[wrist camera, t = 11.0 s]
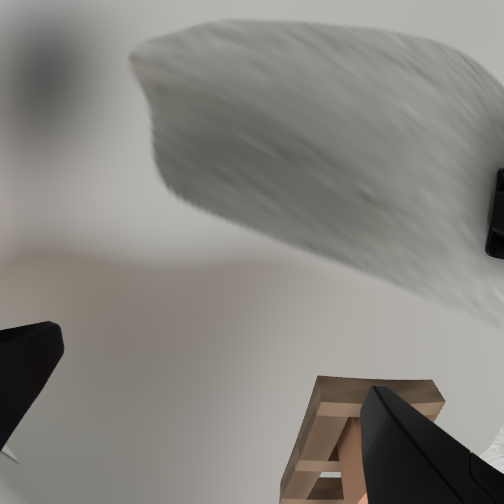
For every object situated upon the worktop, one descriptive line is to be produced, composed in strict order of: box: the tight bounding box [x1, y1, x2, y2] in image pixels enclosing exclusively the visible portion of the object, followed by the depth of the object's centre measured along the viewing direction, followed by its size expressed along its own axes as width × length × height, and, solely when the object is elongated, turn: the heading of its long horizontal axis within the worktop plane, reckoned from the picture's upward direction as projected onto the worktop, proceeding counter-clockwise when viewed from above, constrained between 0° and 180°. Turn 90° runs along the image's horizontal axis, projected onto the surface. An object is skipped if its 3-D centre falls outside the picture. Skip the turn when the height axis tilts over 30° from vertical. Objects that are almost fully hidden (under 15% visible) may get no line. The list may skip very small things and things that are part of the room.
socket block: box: [279, 376, 445, 504], centre depth 20 cm, size 10×15×3 cm
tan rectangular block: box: [337, 417, 368, 504], centre depth 17 cm, size 4×4×9 cm
